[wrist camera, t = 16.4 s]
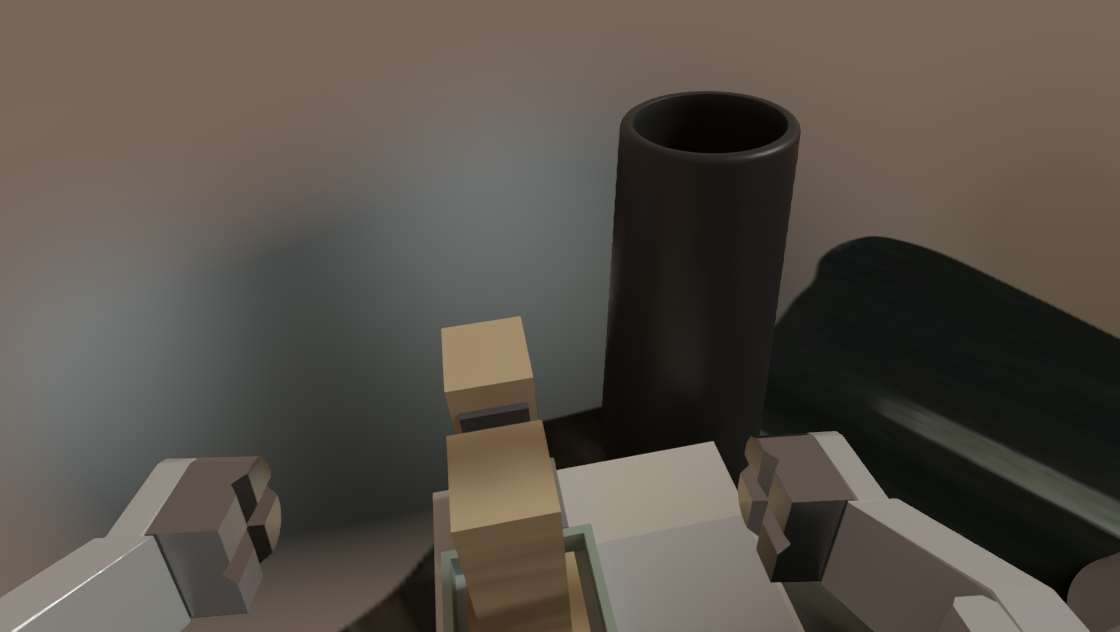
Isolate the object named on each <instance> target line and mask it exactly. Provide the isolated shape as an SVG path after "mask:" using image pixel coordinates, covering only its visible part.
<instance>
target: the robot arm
mask: <svg viewBox="0 0 1120 632" xmlns="http://www.w3.org/2000/svg"><path fill="white" fill-rule="evenodd" d="M744 454H745V456H746V459H747V461H748V463H749V466H748V467H746V468H745V469H744V470H743V471H742V472H741V473H740V478H739V484H738V499H739V506H740V510H741V514H742V517H743V520H744V522H745V525H746V527H747V528H748V529H749V530H750V531H752V532H753V533H754V534H756V535H757V536H758V537H759V538H758V542H757V547H756V550H757V553H758V555H759V557H760V560H761V562H762V564H763V566H764V569H765V571H766V573H767V576H768V578H769V580H770V582H771V583H775V582H808V581H821V584H822V585H823V586H824V587H825V588H826V589H827V590H828V591H829V592H831V593H832V594H833V595H834V596H835V597H836V598H837V599H838V600H839V601H841V602H842V603H843V604H844V605H845V606H846V607H847V608H848V609H849V610H850V611H852V612H853V613H854V614H855V615H856V616H857V617H858V618H859V619H860V620H862V621H863V622H864V623H865V624H866V625H867V626H868V627H869V628H870V629H872V630H873V631H874V632H1120V552H1119V553H1117V554H1114V555H1112V556H1109V557H1106V558H1102V559H1099V560H1097V561H1094V562H1092V563H1090V564H1089V565H1087V566H1086V567H1084V568H1083V569H1082V570H1081V571H1080V572H1079V573H1078V574H1077V575H1076V576H1075V578H1074V579H1073V581H1072V583H1071V585H1070V588H1069V591H1068V596H1067V605H1066V603H1065V602H1064V601H1063V600H1062V599H1061V598H1060V597H1059V596H1058V594H1057V593H1056V592H1055V591H1054V590H1053V589H1052V588H1050V587H1048V586H1047V585H1045V584H1043V583H1041V582H1040V581H1038V580H1036V579H1035V578H1033V577H1031V576H1029V575H1028V574H1026V573H1024V572H1023V571H1021V570H1019V569H1017V568H1016V567H1014V566H1012V565H1010V564H1009V563H1007V562H1005V561H1004V560H1002V559H1000V558H998V557H997V556H995V555H993V554H992V553H990V552H988V551H986V550H985V549H983V548H981V547H980V546H978V545H976V544H974V543H973V542H971V541H969V540H968V539H966V538H964V537H962V536H961V535H959V534H957V533H955V532H954V531H952V530H950V529H949V528H947V527H945V526H943V525H942V524H940V523H938V522H937V521H935V520H933V519H931V518H930V517H928V516H926V515H925V514H923V513H921V512H919V511H918V510H916V509H914V508H913V507H911V506H909V505H907V504H906V503H904V502H902V501H900V500H899V499H888V497H887V496H886V495H885V493H884V492H883V490H882V489H881V488H880V486H879V485H878V484H877V482H876V481H875V480H874V478H873V477H872V475H871V474H870V473H869V471H868V470H867V469H866V467H865V466H864V464H863V463H862V462H861V460H860V459H859V458H858V456H857V455H856V454H855V452H854V451H853V449H852V448H851V447H850V445H849V444H848V443H847V441H846V440H845V438H844V437H843V436H842V435H841V434H839V433H838V432H836V431H832V432H815V433H807V434H787V435H766V436H751V437H750V438H749V440H748V442H747V444H746V449H745V453H744ZM270 476H271V473H270V469H269V466H268V463H267V460H266V459H264V458H262V457H210V458H209V457H208V458H198V459H196V458H195V459H194V458H189V459H166V460H164V461H162V462H160V463H159V464H157V466H156V467H155V468H154V470H153V471H152V473H151V474H150V475H149V477H148V478H147V480H146V481H145V482H144V484H143V485H142V487H141V488H140V490H139V491H138V492H137V494H136V495H135V496H134V498H133V499H132V501H131V502H130V503H129V505H128V506H127V508H126V509H125V510H124V512H123V513H122V515H121V516H120V517H119V519H118V520H117V522H116V523H115V525H114V526H113V527H112V529H111V530H110V532H109V533H108V534H107V536H106V537H105V538H95V539H93V540H91V541H90V542H88V543H87V544H85V545H83V546H82V547H80V548H79V549H77V550H75V551H74V552H72V553H71V554H69V555H68V556H66V557H65V558H63V559H61V560H60V561H58V562H57V563H55V564H53V565H52V566H50V567H49V568H47V569H45V570H44V571H42V572H41V573H39V574H38V575H36V576H34V577H33V578H31V579H30V580H28V581H26V582H25V583H24V584H22V585H20V586H19V587H17V588H15V589H14V590H12V591H11V592H9V593H8V594H6V595H4V596H3V597H1V598H0V632H181V631H182V630H183V629H184V628H185V627H186V626H187V625H188V624H189V623H190V622H191V619H190V618H199V617H210V616H222V615H233V614H245V613H248V612H249V610H250V608H251V605H252V603H253V600H254V598H255V595H256V593H257V591H258V588H259V586H260V583H261V581H262V578H263V573H262V570H261V567H260V563H261V562H262V561H263V560H264V559H266V558H267V557H268V556H269V555H270V554H271V553H273V551H274V548H275V545H276V543H277V540H278V537H279V530H280V524H281V510H280V503H279V499H278V496H277V494H276V493H274V492H273V491H272V490H271V489H269V488H268V487H267V486H266V485H267V483H268V481H269V479H270Z"/></svg>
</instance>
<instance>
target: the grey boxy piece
mask: <svg viewBox="0 0 1120 632" xmlns="http://www.w3.org/2000/svg"><path fill="white" fill-rule="evenodd" d="M441 330H442V351H443V371H444V392H445V396H446V400H447V404H448V408H449V412H450V416H451V420H452V424H453V428H454V432H455V435H456V434H462V433H468V432H473V431H479V430H485V429H490V428H496V427H502V426H508V425H513V424H519V423H525V422H530V421H536V420H538V414H537V405H536V396H535V388H534V379H533V374H532V369H531V364H530V360H529V355H528V350H527V346H526V341H525V336H524V331H523V326H522V321H521V317H520V316H518V317H513V318H506V319H499V320H493V321H487V322H481V323H474V324H468V325H462V326H455V327H449V328H442V329H441ZM550 461H551V466H552V471H553V475H554V480H555V485H556V490H557V495H558V499H559V504H560V509H561V517H562V527H563V538H564V548H565V553H568V552H573V551H574V555H575V559H576V564H577V569H578V573H579V578H580V583H581V587H582V592H583V597H584V601H585V606H586V611H587V615H588V620H589V625H590V629H591V632H805V631H804V629H803V627H802V625H801V623H800V620H799V618H798V616H797V614H796V612H795V610H794V608H793V606H792V604H791V602H790V600H789V598H788V595H787V593H786V591H785V589H784V587H783V585H782V583H781V582H775V583H771V582H770V580H769V578H768V576H767V573H766V571H765V569H764V566H763V564H762V562H761V560H760V557H759V555H758V553H757V550H756V547H757V542H758V538H759V537H758V536H757V535H756V534H754V533H753V532H752V531H750V530H749V529H748V528H747V527H746V525H745V522H744V520H743V517H742V514H741V510H740V506H739V499H738V491H737V489H736V487H735V485H734V483H733V481H732V479H731V477H730V475H729V473H728V471H727V468H726V466H725V464H724V462H723V460H722V458H721V456H720V454H719V452H718V450H717V448H716V446H715V443H714V441H712V442H706V443H701V444H696V445H690V446H685V447H679V448H674V449H669V450H663V451H658V452H652V453H647V454H642V455H636V456H631V457H625V458H620V459H614V460H609V461H604V462H598V463H593V464H587V465H582V466H577V467H571V468H566V469H560V470H556V466H555V461H554V458H550ZM433 512H434V513H433V516H434V557H435V598H436V632H469V620H468V605H467V589H466V581H465V578H464V574H463V571H462V568H461V564H460V561H459V558H458V554H457V551H456V548H455V545H454V541H453V538H452V535H451V525H450V504H449V490H447V491H441V492H436V493H433Z"/></svg>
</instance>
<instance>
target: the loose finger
mask: <svg viewBox="0 0 1120 632" xmlns="http://www.w3.org/2000/svg"><path fill="white" fill-rule="evenodd" d="M446 440H447V460H448V482H449V504H450V525H451V535H452V538H453V541H454V545H455V548H456V551H457V554H458V558H459V561H460V564H461V568H462V571H463V574H464V578H465V581H466V589H467V605H468V620H469V632H591V629H590V625H589V620H588V615H587V611H586V606H585V601H584V597H583V592H582V587H581V583H580V578H579V573H578V569H577V564H576V559H575V555H574V551H573V552H568V553H565V548H564V538H563V527H562V517H561V509H560V504H559V499H558V495H557V490H556V485H555V480H554V475H553V471H552V466H551V461H550V456H549V452H548V447H547V442H546V437H545V432H544V428H543V423H542V420H536V421H530V422H525V423H519V424H513V425H508V426H502V427H496V428H490V429H485V430H479V431H473V432H468V433H462V434H456V435H450V436H447V437H446Z"/></svg>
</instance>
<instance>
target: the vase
mask: <svg viewBox="0 0 1120 632" xmlns="http://www.w3.org/2000/svg"><path fill="white" fill-rule="evenodd" d="M800 132H801V131H800V125H799V123H798V121H797V119H796V118H795V117H794V115H793V114H792V113H790V112H789V111H788V110H786V109H785V108H783V107H781V106H779V105H777V104H775V103H773V102H770V101H768V100H765V99H762V98H758V97H754V96H749V95H744V94H739V93H731V92H718V91H696V92H683V93H675V94H669V95H665V96H660V97H657V98H653V99H650V100H648V101H645V102H643V103H641V104H639V105H637V106H635V107H634V108H632V109H631V110H630V111H629V112H627V114H626V115H625V116H624V117H623V119H622V122H621V124H620V134H619V146H618V163H617V180H616V196H615V212H614V228H613V243H612V258H611V274H610V288H609V303H608V322H607V336H606V350H605V368H604V382H603V401H602V420H601V440H602V446H603V449H604V452H605V454H606V456H607V458H608V460H614V459H620V458H625V457H631V456H636V455H642V454H647V453H652V452H658V451H663V450H669V449H674V448H679V447H685V446H690V445H696V444H701V443H706V442H712V441H714V443H715V446H716V448H717V450H718V452H719V454H720V456H721V458H722V460H723V462H724V464H725V466H726V468H727V471H728V473H729V475H730V477H731V479H732V481H733V483H734V485H735V486H736V485H737V484H738V483H739V478H740V473H741V472H742V471H743V470H744V469H745V468H746V467H748V466H749V463H748V461H747V459H746V456H745V454H744V453H745V449H746V444H747V442H748V440H749V438H750V437H751V436H759V435H760V427H761V420H762V414H763V406H764V398H765V392H766V384H767V377H768V370H769V361H770V355H771V348H772V340H773V334H774V324H775V320H776V310H777V304H778V296H779V290H780V281H781V276H782V266H783V261H784V252H785V247H786V236H787V232H788V222H789V216H790V209H791V201H792V196H793V185H794V180H795V172H796V164H797V160H798V148H799V141H800Z"/></svg>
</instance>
